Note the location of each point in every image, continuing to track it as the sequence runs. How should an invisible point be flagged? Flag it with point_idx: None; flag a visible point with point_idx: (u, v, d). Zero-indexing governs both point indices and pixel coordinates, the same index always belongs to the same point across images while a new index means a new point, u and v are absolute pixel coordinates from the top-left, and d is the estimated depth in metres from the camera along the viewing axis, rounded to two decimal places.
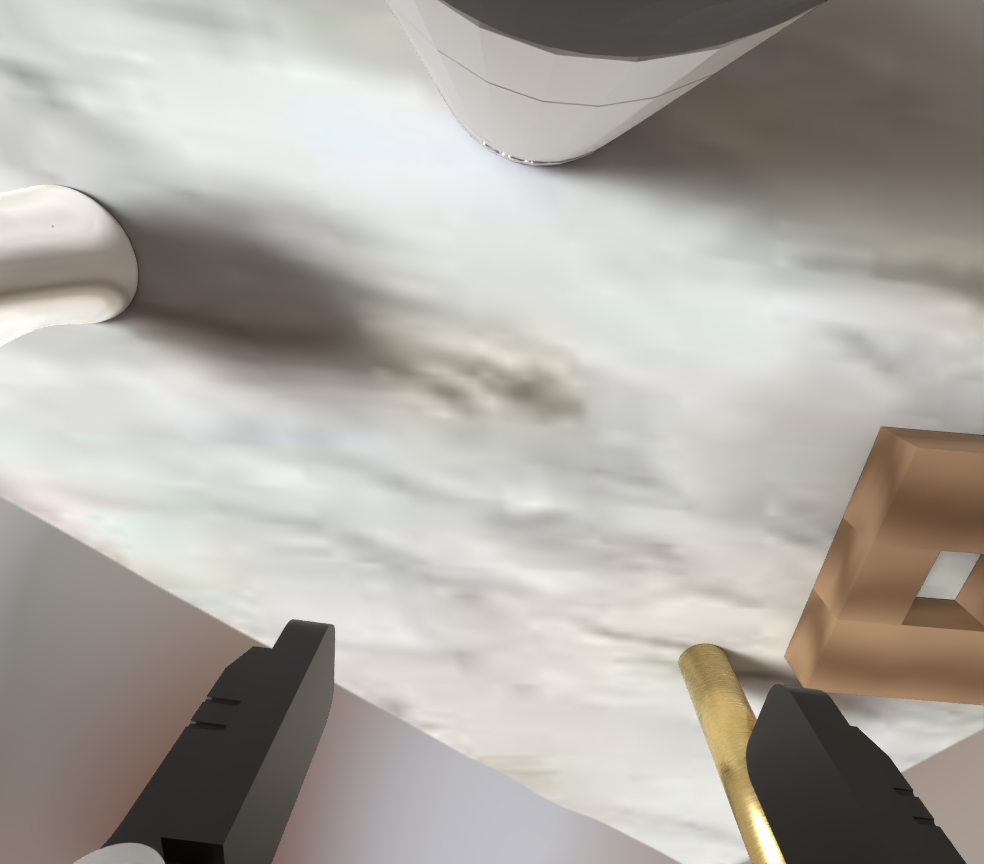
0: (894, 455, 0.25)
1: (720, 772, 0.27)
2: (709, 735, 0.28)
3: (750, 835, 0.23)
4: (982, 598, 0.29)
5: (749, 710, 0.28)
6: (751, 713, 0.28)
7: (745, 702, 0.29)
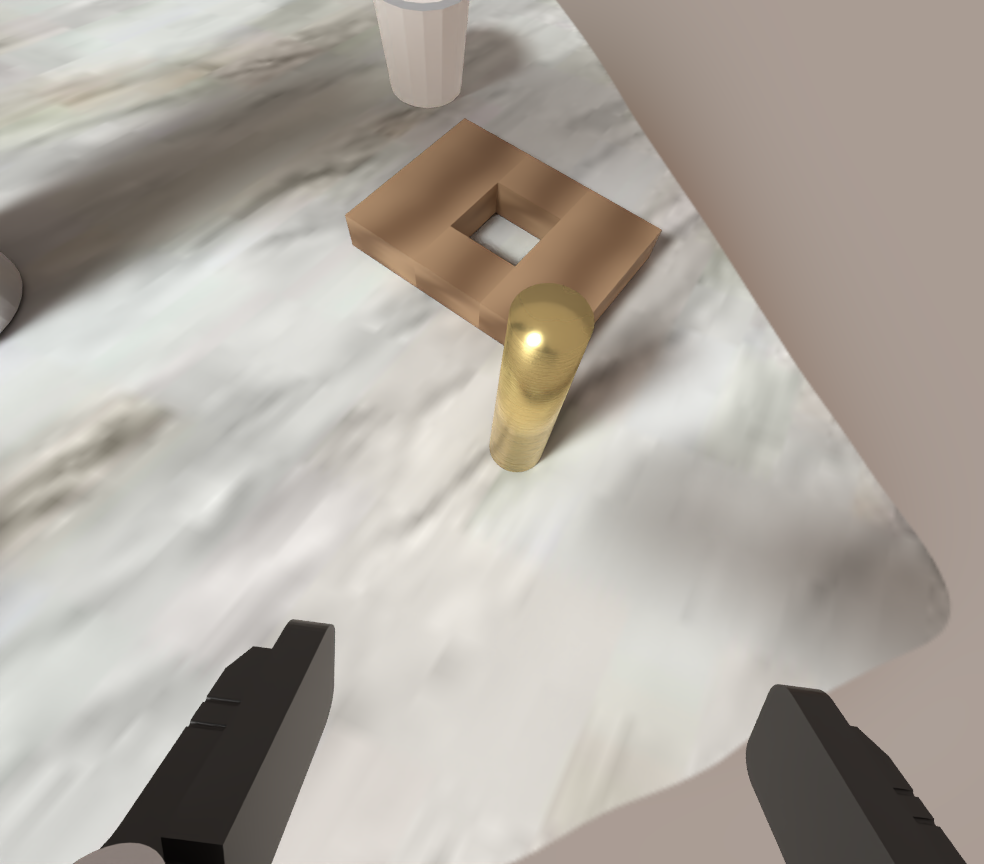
0: (358, 234, 0.32)
1: (515, 411, 0.22)
2: (506, 424, 0.23)
3: (514, 365, 0.19)
4: (541, 225, 0.34)
5: None
6: None
7: None
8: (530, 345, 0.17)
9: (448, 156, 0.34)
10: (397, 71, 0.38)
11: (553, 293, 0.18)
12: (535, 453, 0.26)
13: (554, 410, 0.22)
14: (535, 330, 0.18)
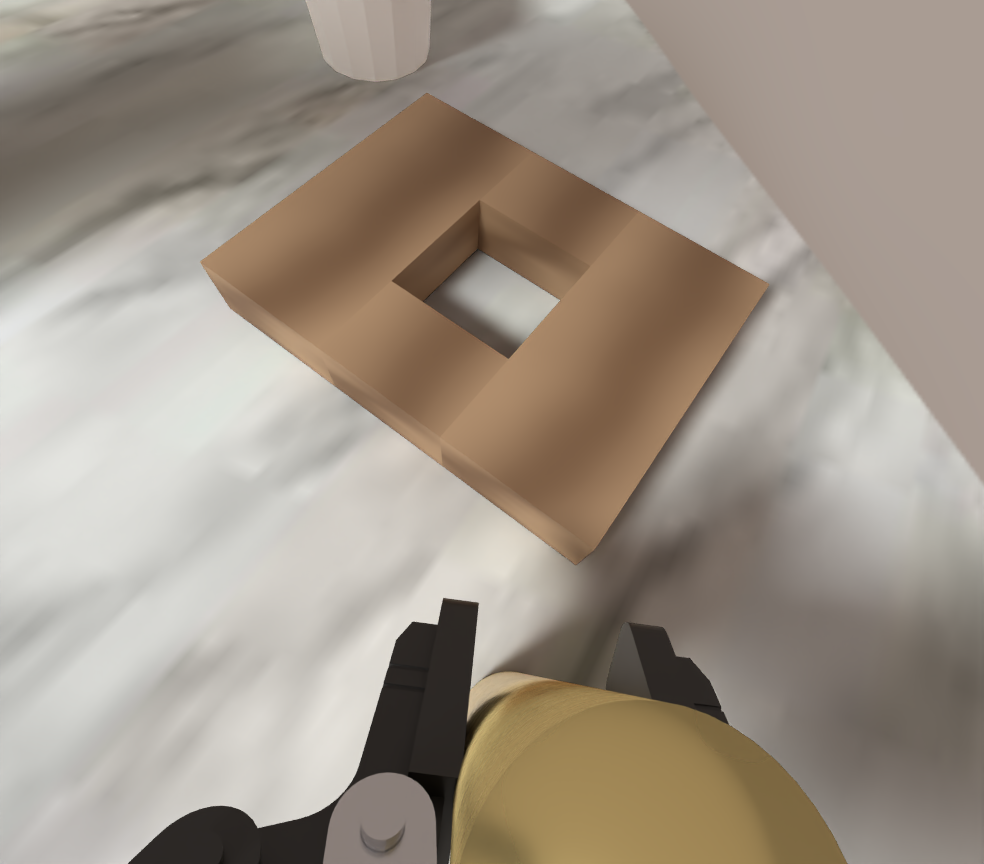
0: (230, 294, 0.18)
1: None
2: None
3: None
4: (555, 273, 0.20)
5: (501, 680, 0.11)
6: (505, 679, 0.11)
7: (499, 680, 0.11)
8: None
9: (395, 155, 0.20)
10: (322, 20, 0.24)
11: (661, 766, 0.04)
12: None
13: None
14: None
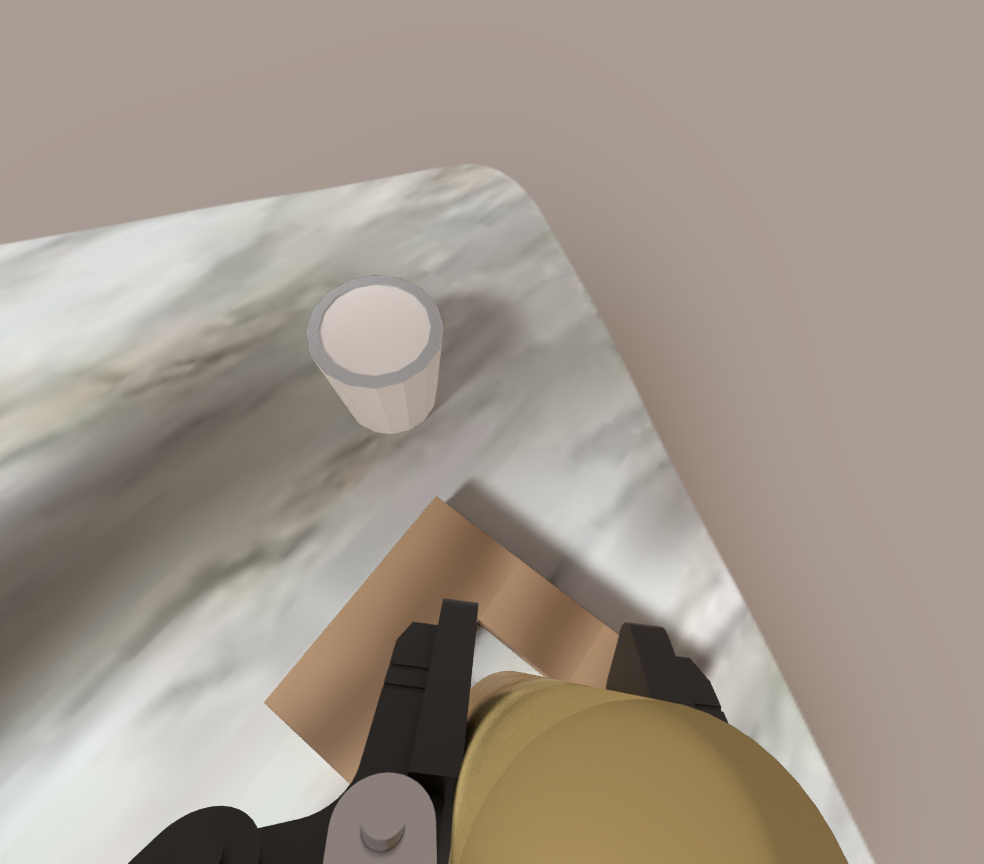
0: None
1: None
2: None
3: None
4: (538, 670, 0.25)
5: (501, 680, 0.11)
6: (505, 679, 0.11)
7: (499, 679, 0.11)
8: None
9: (412, 572, 0.25)
10: (350, 409, 0.29)
11: (661, 765, 0.04)
12: None
13: None
14: None
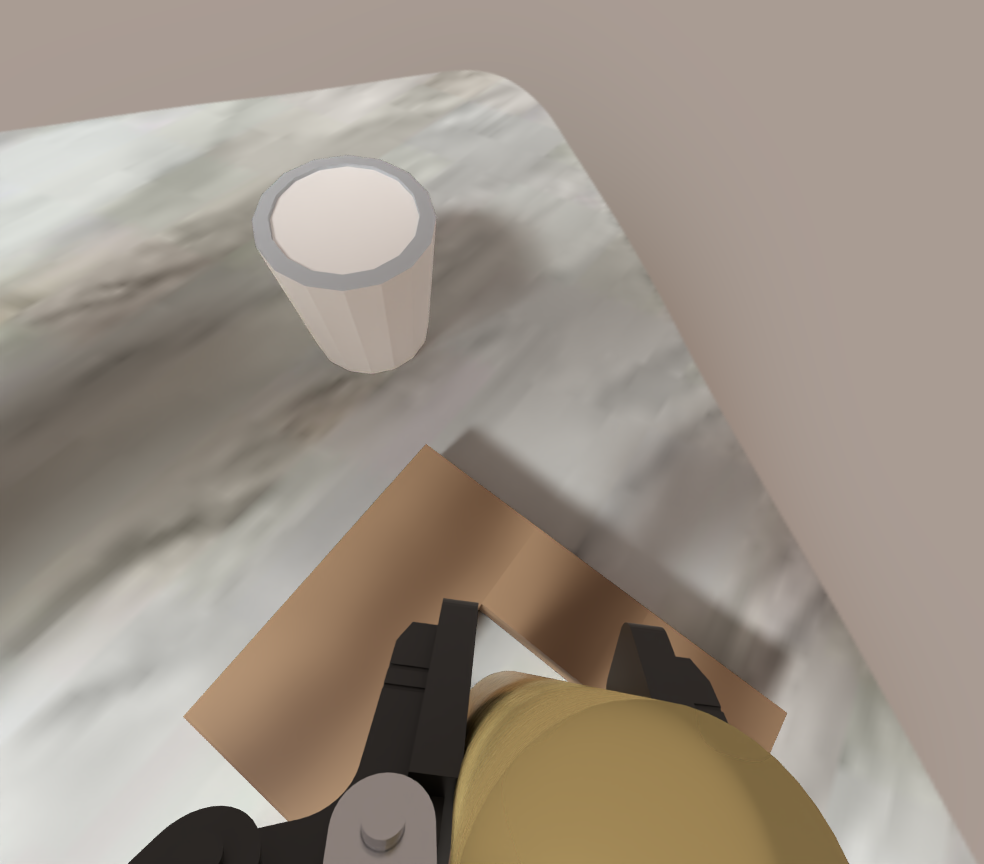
0: None
1: None
2: None
3: None
4: (561, 671, 0.19)
5: (501, 680, 0.11)
6: (505, 679, 0.11)
7: (499, 679, 0.11)
8: None
9: (393, 540, 0.19)
10: (316, 336, 0.22)
11: (663, 766, 0.04)
12: None
13: None
14: None
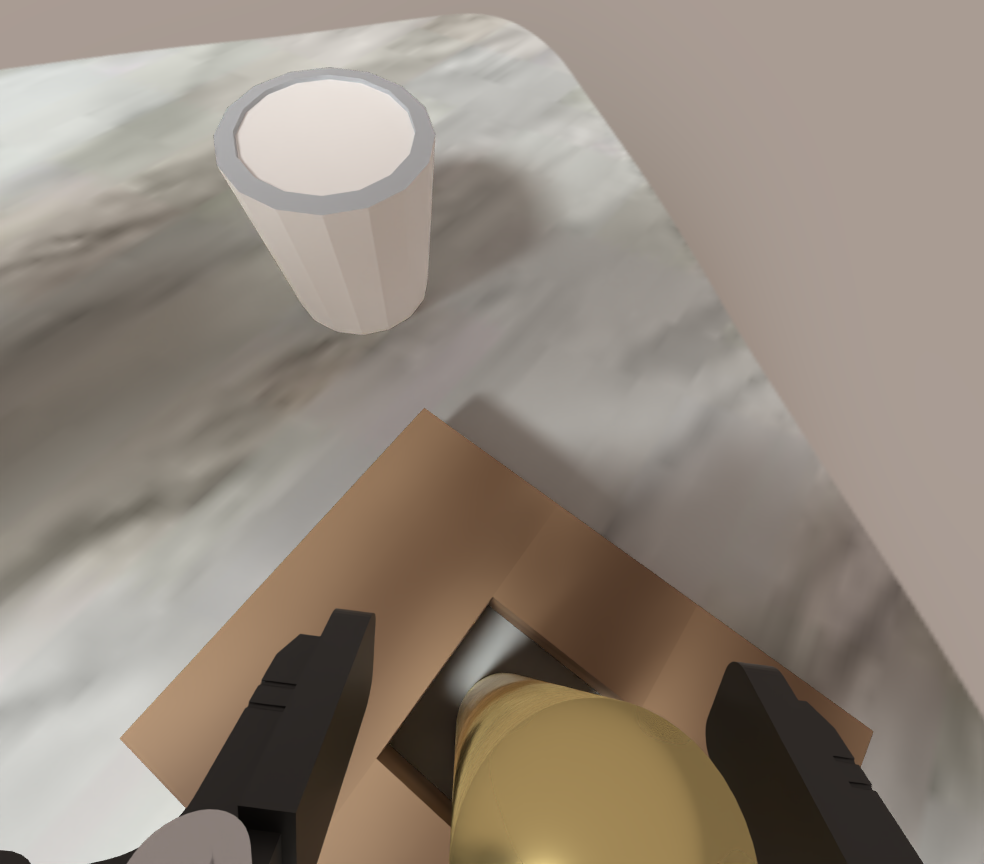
0: None
1: None
2: None
3: None
4: (589, 680, 0.15)
5: (496, 681, 0.12)
6: (500, 680, 0.12)
7: (494, 680, 0.13)
8: None
9: (384, 521, 0.16)
10: (296, 287, 0.19)
11: (609, 747, 0.05)
12: None
13: None
14: None
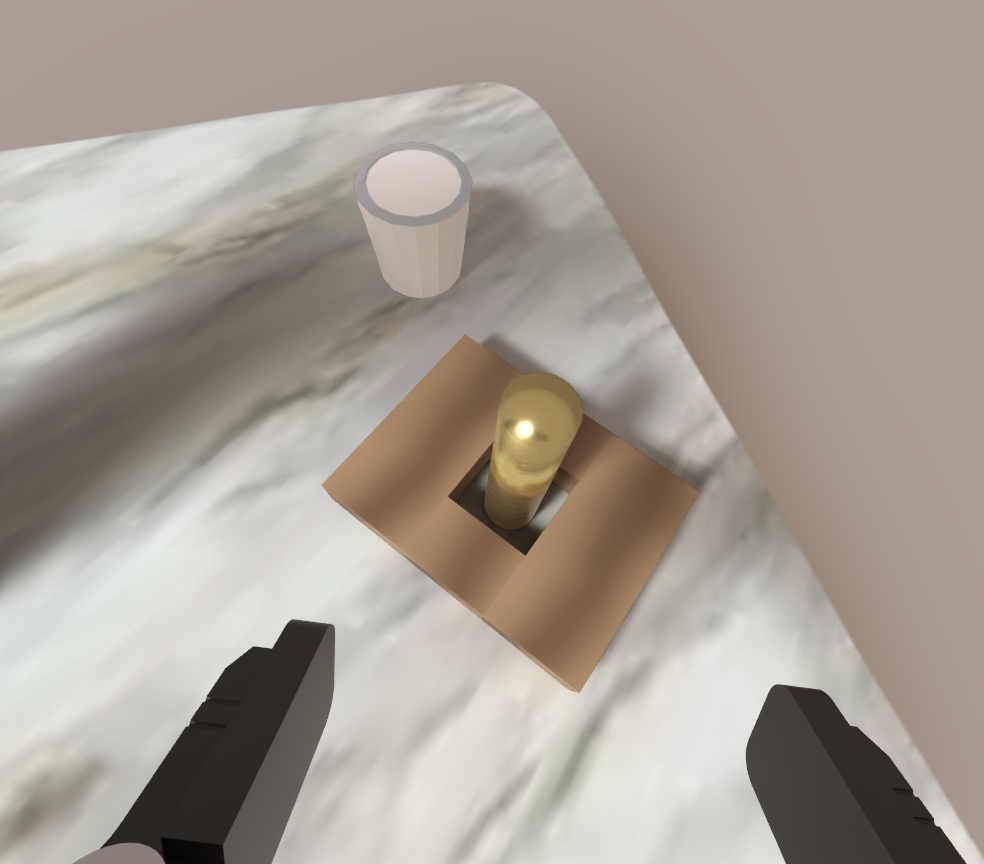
0: (338, 500, 0.27)
1: (508, 485, 0.22)
2: (499, 493, 0.24)
3: (505, 450, 0.19)
4: (556, 475, 0.29)
5: None
6: None
7: None
8: (520, 438, 0.18)
9: (445, 391, 0.29)
10: (387, 267, 0.33)
11: (543, 383, 0.19)
12: (528, 515, 0.27)
13: (546, 484, 0.22)
14: (525, 422, 0.18)
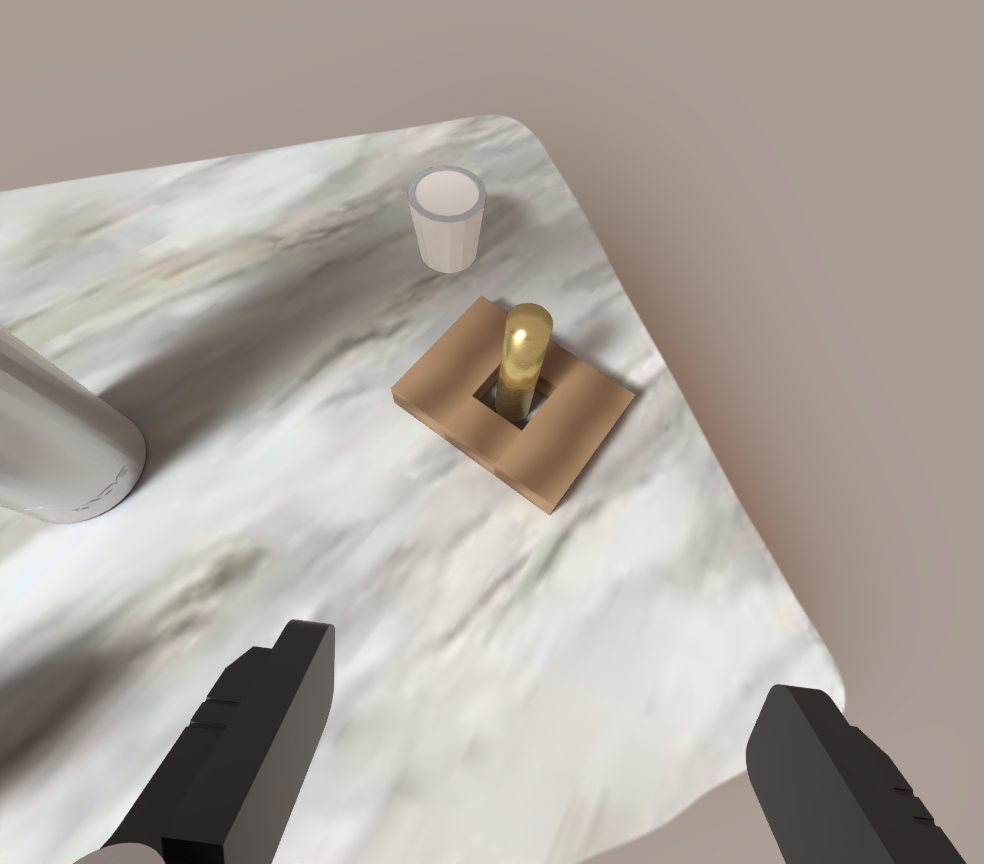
0: (400, 400, 0.42)
1: (511, 377, 0.37)
2: (505, 386, 0.39)
3: (509, 348, 0.34)
4: (542, 386, 0.43)
5: None
6: None
7: None
8: (518, 337, 0.33)
9: (469, 331, 0.44)
10: (426, 251, 0.47)
11: (531, 308, 0.33)
12: (524, 407, 0.41)
13: (533, 376, 0.37)
14: (520, 329, 0.33)
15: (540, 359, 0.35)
